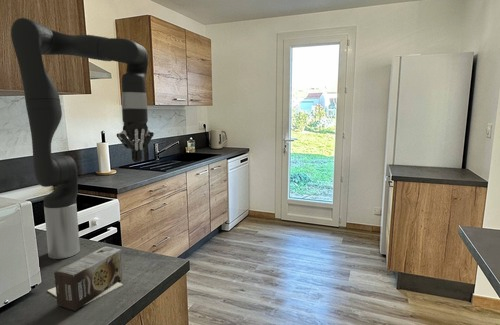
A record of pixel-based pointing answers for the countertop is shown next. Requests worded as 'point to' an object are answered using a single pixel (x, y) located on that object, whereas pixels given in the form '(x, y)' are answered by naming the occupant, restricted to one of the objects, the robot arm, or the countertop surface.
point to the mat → (111, 288)
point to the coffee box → (88, 277)
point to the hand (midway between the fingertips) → (137, 161)
